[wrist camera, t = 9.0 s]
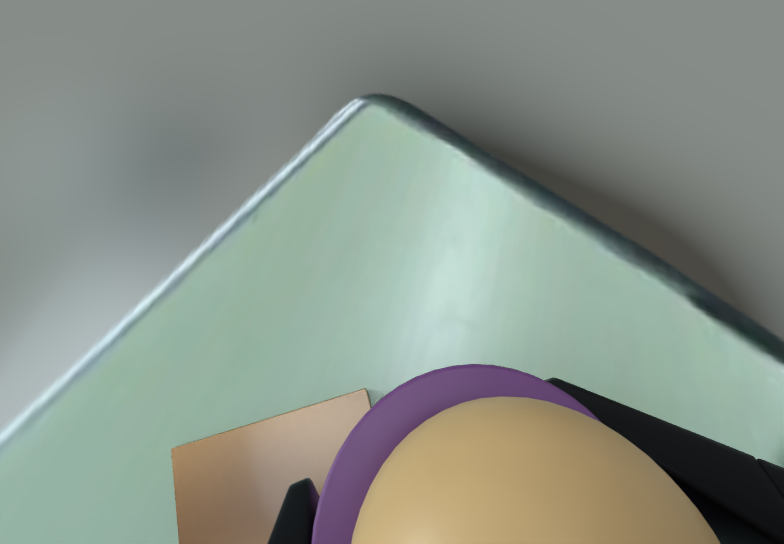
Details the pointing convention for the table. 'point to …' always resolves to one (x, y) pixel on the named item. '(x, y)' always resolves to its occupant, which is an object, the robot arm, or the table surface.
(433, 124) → the table surface
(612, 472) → the peg doll toy
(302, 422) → the cork coaster
